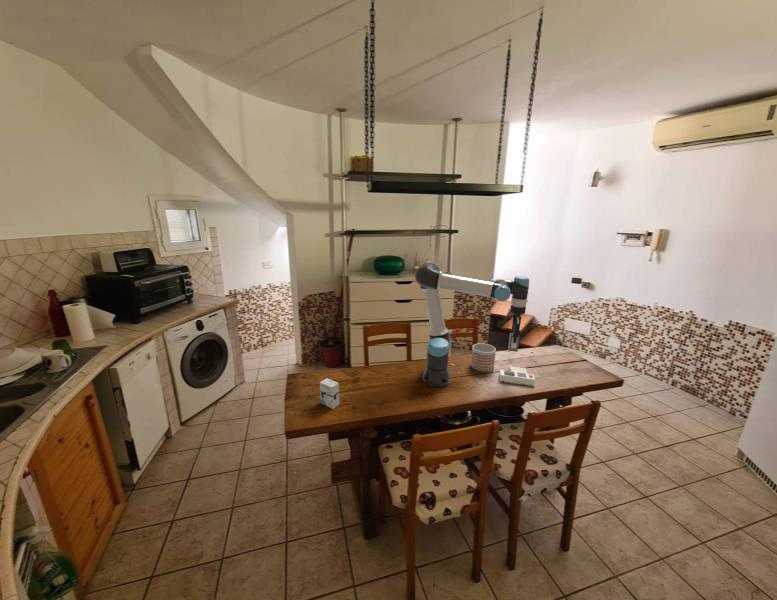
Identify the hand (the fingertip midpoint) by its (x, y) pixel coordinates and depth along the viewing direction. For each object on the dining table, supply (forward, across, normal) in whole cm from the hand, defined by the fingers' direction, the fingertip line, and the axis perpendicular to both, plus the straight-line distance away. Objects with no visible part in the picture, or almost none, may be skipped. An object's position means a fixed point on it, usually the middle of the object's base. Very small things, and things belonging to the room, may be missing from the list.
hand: (513, 345), depth 179 cm
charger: (+2, 0, 0) cm, 2 cm away
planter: (+21, +12, +15) cm, 28 cm away
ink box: (+21, -52, +86) cm, 103 cm away
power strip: (+21, 0, -4) cm, 21 cm away
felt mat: (+21, +12, -6) cm, 25 cm away
